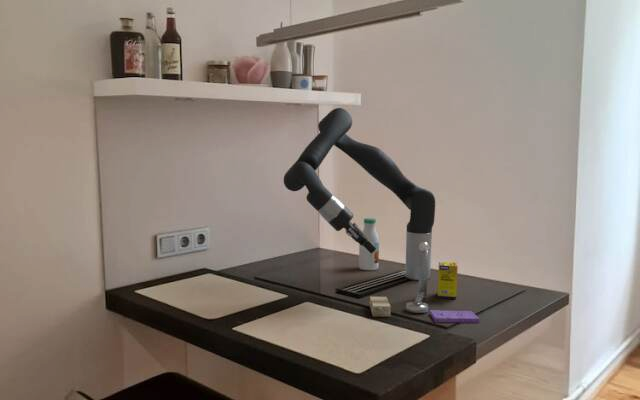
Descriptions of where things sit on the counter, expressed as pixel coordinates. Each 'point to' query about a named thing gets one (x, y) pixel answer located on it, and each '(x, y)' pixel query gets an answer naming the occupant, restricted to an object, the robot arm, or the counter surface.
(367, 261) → the milk bottle
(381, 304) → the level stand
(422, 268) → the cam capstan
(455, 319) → the sponges
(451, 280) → the supplement box
